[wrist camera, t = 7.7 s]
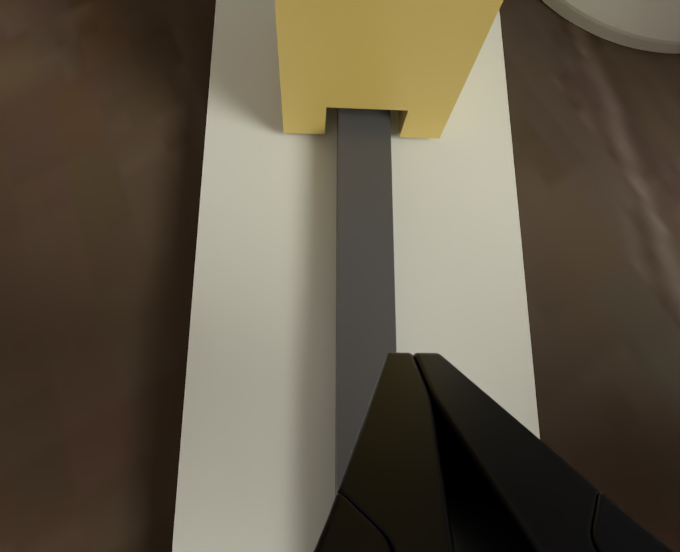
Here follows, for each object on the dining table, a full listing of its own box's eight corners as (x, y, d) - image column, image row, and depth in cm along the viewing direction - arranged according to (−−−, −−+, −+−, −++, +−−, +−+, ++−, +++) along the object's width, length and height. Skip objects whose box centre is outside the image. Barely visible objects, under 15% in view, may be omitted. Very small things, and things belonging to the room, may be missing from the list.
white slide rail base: (559, 851, 14) (753, 1169, 8) (157, 869, 13) (36, 1229, 7) (478, -76, 22) (543, -263, 16) (229, -91, 21) (201, -292, 16)
